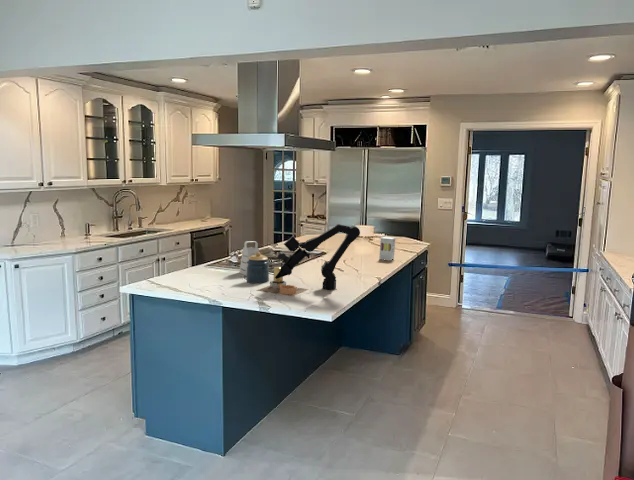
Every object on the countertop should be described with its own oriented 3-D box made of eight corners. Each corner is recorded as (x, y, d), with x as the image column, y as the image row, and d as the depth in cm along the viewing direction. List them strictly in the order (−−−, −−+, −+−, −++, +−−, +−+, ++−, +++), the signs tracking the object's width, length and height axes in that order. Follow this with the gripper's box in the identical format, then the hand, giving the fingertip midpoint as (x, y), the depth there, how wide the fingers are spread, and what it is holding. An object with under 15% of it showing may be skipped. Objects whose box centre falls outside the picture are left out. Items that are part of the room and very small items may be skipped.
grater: (261, 274, 318) (262, 242, 315) (245, 275, 312) (246, 243, 310) (254, 271, 327) (255, 240, 324) (239, 272, 321) (239, 240, 318)
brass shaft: (284, 287, 282) (284, 267, 280) (279, 288, 277) (280, 268, 276) (276, 285, 284) (276, 266, 282) (271, 287, 279) (272, 267, 278)
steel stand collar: (288, 286, 282) (288, 281, 282) (280, 289, 275) (281, 284, 275) (275, 285, 286) (275, 279, 285) (267, 287, 278) (267, 282, 278)
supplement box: (378, 260, 384) (380, 237, 382) (382, 258, 393) (383, 236, 390) (391, 261, 381) (392, 238, 378) (394, 259, 389) (395, 237, 387)
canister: (242, 281, 296) (242, 251, 294) (261, 279, 304) (262, 249, 302) (253, 285, 286) (254, 254, 284) (273, 283, 294) (274, 253, 292)
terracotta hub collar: (298, 291, 272) (298, 286, 271) (291, 295, 265) (291, 289, 264) (284, 289, 275) (285, 284, 275) (277, 292, 268) (277, 287, 268)
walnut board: (308, 291, 279) (308, 289, 279) (293, 298, 263) (293, 296, 262) (273, 285, 288) (273, 284, 288) (256, 292, 272) (256, 290, 272)
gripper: (286, 244, 287) (266, 263, 288) (286, 249, 268) (264, 270, 269) (300, 258, 288) (280, 277, 289) (300, 265, 270) (279, 285, 271)
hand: (275, 277), depth 280 cm, fingers closed on brass shaft, 5 cm apart
